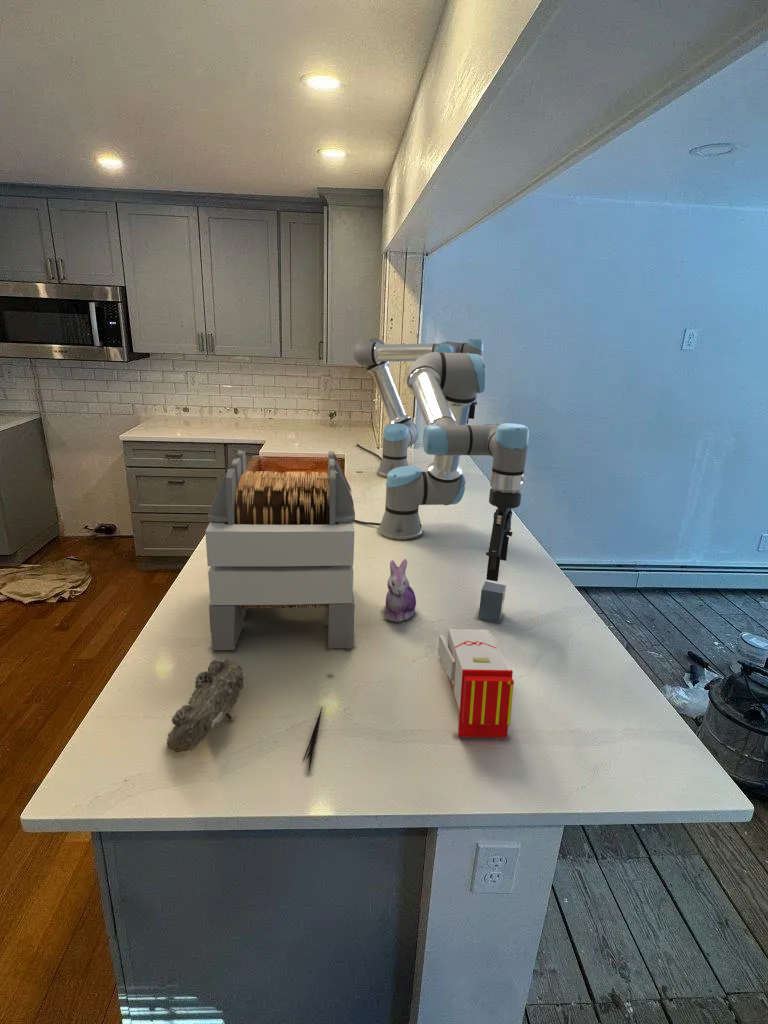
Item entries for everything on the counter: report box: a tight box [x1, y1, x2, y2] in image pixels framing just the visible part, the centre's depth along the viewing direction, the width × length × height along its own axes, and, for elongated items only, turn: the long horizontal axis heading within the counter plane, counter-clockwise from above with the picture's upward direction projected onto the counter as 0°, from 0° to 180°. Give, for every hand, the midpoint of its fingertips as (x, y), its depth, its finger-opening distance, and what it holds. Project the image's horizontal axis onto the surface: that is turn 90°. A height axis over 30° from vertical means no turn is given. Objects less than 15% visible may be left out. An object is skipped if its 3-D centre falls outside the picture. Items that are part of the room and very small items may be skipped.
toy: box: [437, 628, 515, 738], centre depth 117 cm, size 12×13×30 cm
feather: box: [301, 673, 332, 771], centre depth 108 cm, size 2×28×2 cm
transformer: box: [204, 449, 356, 652], centre depth 138 cm, size 34×33×41 cm
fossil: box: [166, 658, 245, 754], centre depth 106 cm, size 22×10×15 cm
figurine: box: [384, 558, 417, 623], centre depth 145 cm, size 9×10×15 cm
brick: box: [478, 580, 507, 624], centre depth 147 cm, size 5×6×9 cm
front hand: (496, 569), depth 143 cm, fingers open, 13 cm apart
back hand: (468, 420), depth 264 cm, fingers open, 13 cm apart
